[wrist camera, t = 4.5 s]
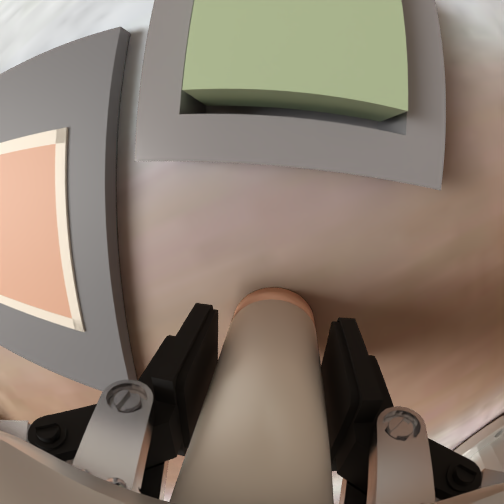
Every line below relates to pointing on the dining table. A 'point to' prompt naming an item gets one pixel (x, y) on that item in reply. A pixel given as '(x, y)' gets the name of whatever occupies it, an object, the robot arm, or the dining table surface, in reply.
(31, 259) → the picture board
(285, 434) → the marker
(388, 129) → the button housing
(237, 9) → the button
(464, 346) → the dining table surface
